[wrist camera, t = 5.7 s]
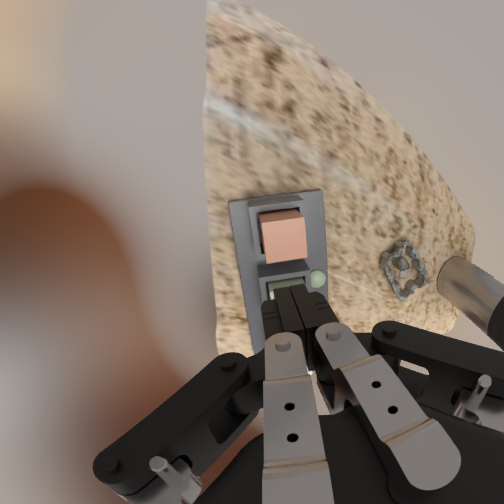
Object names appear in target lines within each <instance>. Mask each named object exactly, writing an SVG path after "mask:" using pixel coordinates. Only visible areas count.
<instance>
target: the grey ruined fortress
mask: <svg viewBox="0 0 504 504" xmlns="http://www.w3.org/2000/svg"><path fill="white" fill-rule="evenodd" d="M403 244H406V245H407V247H406V250H405V251H406V254H407V255H408V256H410V257H411V258H412V259H413V260H412V267H413V268H415V269H416V270H417V271H418V274H417V279H416V280H415V281H413V280H408V281H407V282H406V284H405V289H404V290H403V291H400V290H401V285H400V284H399V283H398V282H397V281H396V280H394V278H395V277H396V276H395V272H394V271H392V270H391V269H390V268H389V267H387V263H388V262H390V261H391V260H392V259H393V261H392V263H393V265H394V266H395V267H396V268H397V269H399V270H400V272H399V277H400V278H401V279H404V278H406V277H407V275H408V272H409V271H408V269H409V268H410V265H409V263H408V261H407V259H405V258H404V257H402V256H401V253H402V249H404V246H403ZM395 245H396V247H395V250H394V251H393V252H392V253H388V252H386V251H385V252H384V253H382V260H381V261H380V263H379V264H380V266H381V267H382V268H383V269H384V270H386V274H387V276H386V277H387V279H388V280H389V281H390V282H391V284H392V286H393V290H394V292H395V294H396V295H397V297H398V298H399V300H401V301H403V300H404V299H406V298H408V296H409V295H411V294H413V293H414V290H415V289H416V288H417V287H418V288H422V287H424V286H425V285H426V284H427V283H430V280H429V276H428V273H427V271H426V269H425V268H424V265H423V262H422V260H421V258H420V255H419V253H418V251H417V250H416V248H415V247H414V245H413V244H412V243H411V241H410V240H409V241H408V242H406V241H404V242H402V241H400V240H398V241H397V242H396V243H395Z"/></svg>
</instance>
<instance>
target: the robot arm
mask: <svg viewBox="0 0 504 504" xmlns="http://www.w3.org/2000/svg"><path fill="white" fill-rule="evenodd" d="M437 288H438V291H439V293H440V294H441V295H442V296H444V297H445V298H446V299H447V300H448V301H449V302H450V303H452V304H453V305H454V306H455V307H456V308H457V309H459V310H460V311H461V312H462V313H463V314H465V316H467V317H468V318H469V319H470V320H471V321H472V322H473V323H474V324H475V325H477V326H478V327H479V328H480V329H481V330H482V331H483V332H484V333H485V334H486V335H487V336H489V337H490V338H491V339H492V340H493V341H494V342H495V343H496V344H497V345H498V346H499V347H500V348H501V349H502V350H503V351H504V284H502V283H501V282H499V281H498V280H496V279H494V277H493V276H491V275H490V274H488V273H487V272H485V271H484V270H482V269H480V268H479V267H477V266H475V265H474V264H472V263H471V262H469V261H467V260H464V259H462V258H461V257H453V258H451V259H450V260H448V261H447V262H446V263H445V264H444V266H443V267H442V269H441V271H440V273H439V276H438V280H437ZM273 293H274V299H272V300H266V301H264V302H263V304H262V305H261V307H260V308H261V314H262V320H263V327H264V333H265V339H266V342H265V346H264V348H263V349H262V350H261V351H260V352H258V353H257V354H255V355H253V356H251V357H248V358H246V357H245V356H244V355H242V354H240V353H235V352H231V353H225V354H222V355H219V356H218V357H216V358H215V359H214V360H212V361H211V362H210V363H209V364H208V365H207V366H206V367H205V368H204V369H202V370H201V371H200V372H199V373H198V374H197V375H196V376H194V377H193V378H192V379H191V380H190V381H189V382H187V383H186V384H185V385H184V386H183V387H182V388H181V389H180V390H178V391H177V392H176V393H175V394H173V395H172V396H171V397H170V398H169V399H167V400H166V401H165V402H164V403H163V404H162V405H160V406H159V407H158V408H157V409H155V410H154V411H153V412H152V413H151V414H149V415H148V416H147V417H146V418H144V419H143V420H142V421H141V422H139V423H138V424H137V425H136V426H134V427H133V428H132V429H130V430H129V431H128V432H127V433H126V434H124V435H123V436H121V437H120V438H119V439H118V440H116V441H115V442H114V443H112V444H111V445H110V446H108V447H107V448H106V449H104V450H103V451H102V452H100V453H99V454H98V455H97V457H96V458H95V460H94V462H93V471H94V474H95V476H96V477H97V478H98V479H99V480H100V481H101V482H102V483H104V484H105V485H107V486H108V487H109V488H110V489H111V490H112V491H113V492H115V493H116V494H117V495H119V496H120V497H122V498H123V499H125V500H127V501H128V502H129V503H130V504H504V352H501V351H497V350H494V349H490V348H486V347H483V346H479V345H475V344H472V343H468V342H465V341H461V340H457V339H454V338H450V337H446V336H443V335H440V334H437V333H433V332H430V331H426V330H423V329H419V328H416V327H413V326H409V325H406V324H403V323H399V322H396V321H382V322H379V323H377V324H376V325H375V326H374V327H373V329H372V333H354V332H352V331H351V329H350V328H349V327H348V326H347V325H345V324H342V323H340V322H339V321H338V319H337V317H336V315H335V314H334V312H333V310H332V309H331V307H330V305H329V303H328V302H327V300H326V298H325V297H324V295H322V294H321V293H319V292H317V291H314V292H308V290H307V288H306V286H305V284H304V283H303V284H297V285H292V286H289V287H288V286H287V287H281V288H275V289H273ZM401 360H404V361H407V362H410V363H413V364H416V365H418V366H421V367H424V368H426V369H427V370H428V372H429V375H425V374H422V373H419V372H416V371H413V370H410V369H407V368H404V367H402V366H400V362H401ZM307 368H308V370H307ZM313 370H315V371H316V374H317V385H318V388H319V390H320V392H321V394H322V397H323V399H324V401H325V403H326V406H327V408H328V410H329V412H330V415H318V413H317V408H316V402H315V396H314V392H313V386H312V381H311V377H310V374H308V371H313ZM260 408H263V409H264V433H262V434H260V435H258V436H257V437H255V438H254V439H253V440H251V441H250V442H248V443H247V444H246V445H245V446H244V447H243V448H242V449H241V450H240V451H239V453H238V454H237V455H236V456H235V457H234V459H233V460H232V461H231V462H230V463H229V465H228V466H227V467H226V468H225V469H224V470H223V471H222V473H221V474H220V475H219V476H218V477H217V478H216V479H215V481H214V482H213V483H212V484H211V485H210V486H209V487H208V488H207V489H206V490H205V491H204V492H203V493H202V494H201V495H200V496H199V497H198V498H197V496H198V495H199V493H200V492H201V489H202V484H201V481H200V479H199V477H200V476H201V475H202V474H203V473H204V472H205V471H206V470H207V469H208V468H209V467H210V466H211V465H212V464H213V463H214V462H215V461H216V460H217V459H218V458H219V457H220V456H221V455H222V454H223V453H224V451H226V450H227V448H228V447H229V446H230V445H231V444H232V443H233V442H234V441H235V440H236V439H237V438H238V436H239V435H240V434H241V433H242V432H243V431H244V430H245V428H246V427H247V426H248V425H249V424H250V423H251V422H252V420H253V419H254V418H255V417H256V416H257V414H258V412H259V409H260ZM196 498H197V499H196ZM195 499H196V501H195ZM194 501H195V502H194Z"/></svg>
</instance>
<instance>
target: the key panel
mask: <svg viewBox="0 0 504 504" xmlns="http://www.w3.org/2000/svg"><path fill="white" fill-rule="evenodd" d="M228 204H229V211H230V217H231V223H232V229H233V235H234V241H235V247H236V253H237V259H238V265H239V271H240V276H241V282H242V288H243V294H244V299H245V305H246V311H247V316H248V322H249V327H250V333H251V338H252V344H253V349H254V355H255V354H257V353H258V352H260V351H261V350H262V349H263V348H264V346H265V342H266V339H265V333H264V327H263V320H262V314H261V308H260V307H261V305H262V304H263V302H264V301H266V300H269V292H268V285H267V282H269V281H276V280H283V279H289V278H296V277H302V278H303V280H304V282H305V285H306V288H307V290H308V292H314V291H317V292H319V293H321V294H322V295H324V297H325V298H326V300H327V302H328V272H327V248H326V231H325V216H324V203H323V192H322V190H320V189H319V190H310V191H301V192H293V193H285V194H277V195H269V196H262V197H255V198H248V199H241V200H234V201H229V202H228ZM291 208H295V209H296V210H297V211H298V212H299V213H300V214H301V215H302V216H303V217H304V220H305V231H306V243H307V256H308V257H307V258H301V259H294V260H287V261H281V262H274V263H267V262H266V258H265V254H264V249H263V243H262V236H261V229H260V221H259V214H258V213H261V212H268V211H276V210H283V209H291Z"/></svg>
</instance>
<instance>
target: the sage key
mask: <svg viewBox="0 0 504 504" xmlns="http://www.w3.org/2000/svg"><path fill="white" fill-rule="evenodd" d="M303 283H304V284H305V282H304V280H303V278H302V277H296V278H289V279H283V280H276V281H269V282H267V285H268V292H269V300H272V299H274V293H273V289H275V288H281V287H287V286H288V287H289V286H292V285H297V284H303ZM305 286H306V285H305Z"/></svg>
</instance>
